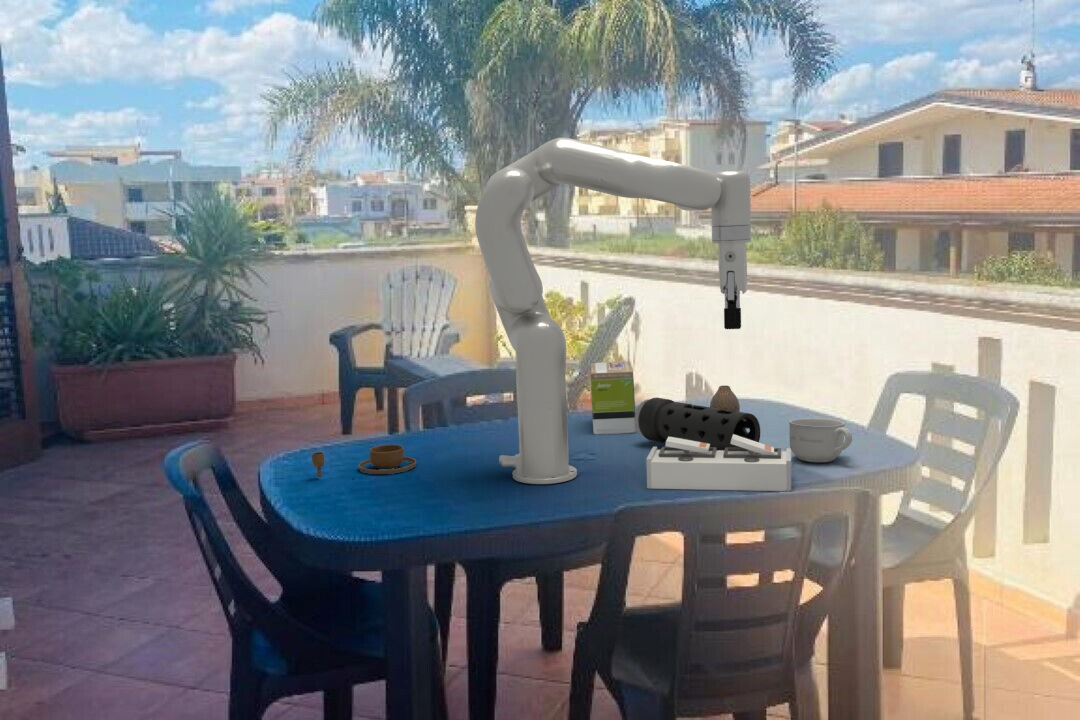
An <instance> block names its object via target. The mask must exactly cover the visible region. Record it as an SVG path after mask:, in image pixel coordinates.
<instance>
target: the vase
mask: <svg viewBox="0 0 1080 720" xmlns="http://www.w3.org/2000/svg"><path fill="white" fill-rule="evenodd" d="M709 407H712V408H718V409H724V410H730V411H736V412H741V411H740V407H741V405H740V402H739V399H738V396H736V394H735V392H734V391H733V390H732V388H731V386H729V385H719V387H718V389H717V390H716V391H715V393H714V395H713V396H712V398H711V401H710V404H709Z"/></svg>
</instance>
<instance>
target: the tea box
mask: <svg viewBox="0 0 1080 720" xmlns="http://www.w3.org/2000/svg"><path fill="white" fill-rule="evenodd" d="M634 380H635V379H634V371H633V368H632V365H631V361H630V360H627V361H607V362H606V361H605V362H591V363H590V396H591V398H590V399H591V414H592V415H591V416H592V429H593V430H592V431H593V434H594V435H616V434H617V435H619V434H635V433H636V431H637V429H636V427H635V421H634V420H635V413H636V405H635V404H636V402H635V401H636V400H635V399H636V398H635V382H634Z"/></svg>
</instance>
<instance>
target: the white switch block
mask: <svg viewBox="0 0 1080 720" xmlns="http://www.w3.org/2000/svg"><path fill="white" fill-rule="evenodd" d="M645 460H646V488H647V489H656V490H658V489H662V490H700V491H701V490H705V491H707V490H710V491H755V492H757V491H758V492H759V491H760V492H761V491H762V492H768V491H769V492H786V491H785V490H791V491H792V451H791V448H790V447H786V450H782V448H781V447H774V454H773V455H763V454H760V453H757V452H754V453H753V454H749V453H748V449H745V448H730V447H725V450H724V451H723V450H717V447H709V451H708V454H706V453H700V452H695V451H689V453H684V451H683V449H678V448H673V447H667V446H662V447H661V448H660V449H658V446H652V448H651V449H650V451H649V452H648V454H647V457H646V459H645Z"/></svg>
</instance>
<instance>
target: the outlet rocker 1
mask: <svg viewBox="0 0 1080 720" xmlns="http://www.w3.org/2000/svg"><path fill="white" fill-rule="evenodd" d="M664 447H673V448H678V449H683V451H684V453H689V451H695V452H700V453H706V454H708V451H709V447H710V444H708V443H702V442H697V441H691V440H686V439H680V438H675V437H669V436H668V438H667V440H666V442H665V445H664Z"/></svg>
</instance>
